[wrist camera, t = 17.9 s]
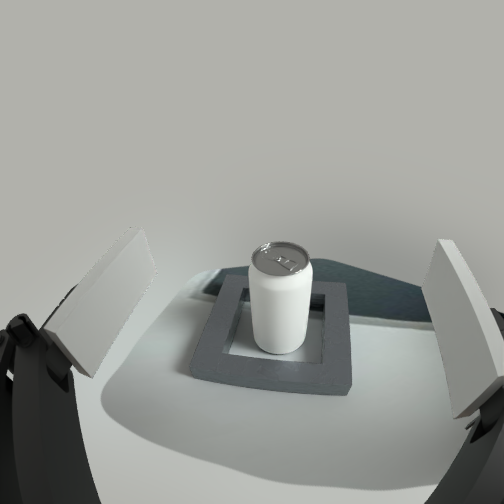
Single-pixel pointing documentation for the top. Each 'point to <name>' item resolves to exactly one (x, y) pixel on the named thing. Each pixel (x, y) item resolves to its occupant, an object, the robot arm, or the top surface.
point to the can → (280, 296)
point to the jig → (276, 371)
